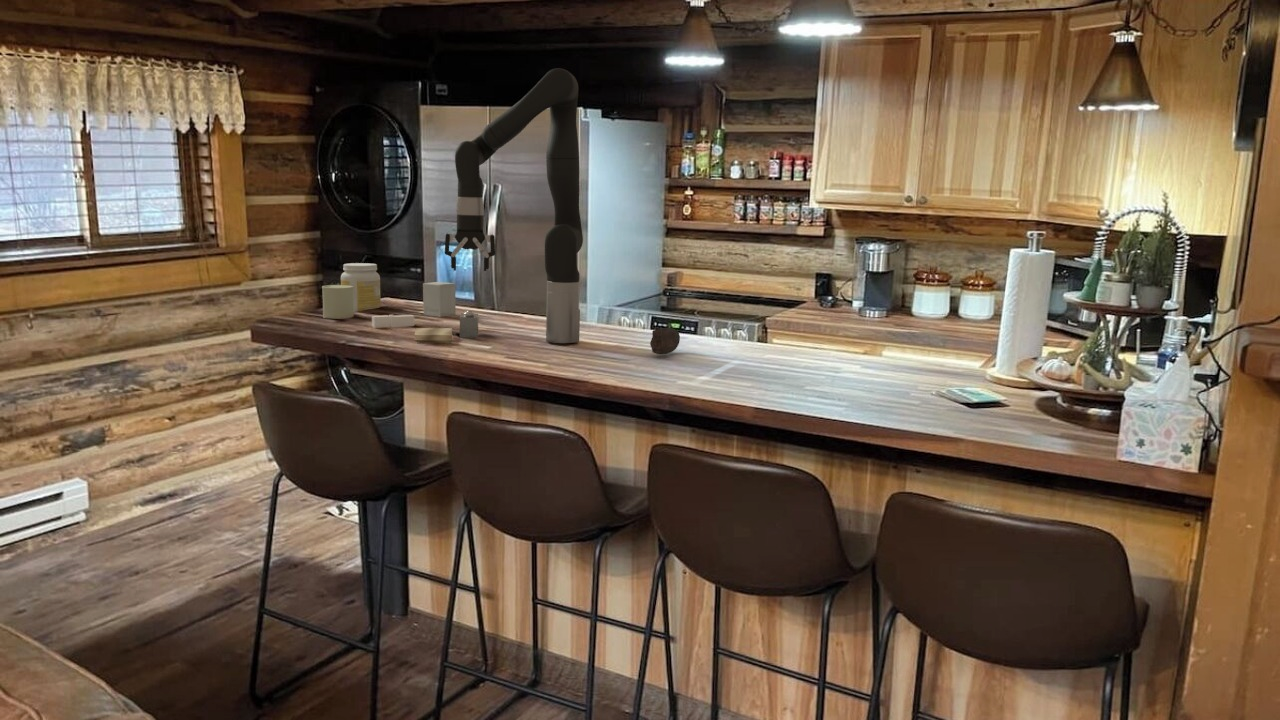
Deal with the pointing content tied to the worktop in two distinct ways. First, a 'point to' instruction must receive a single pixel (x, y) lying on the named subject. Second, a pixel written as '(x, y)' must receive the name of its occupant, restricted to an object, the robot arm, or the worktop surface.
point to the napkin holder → (392, 321)
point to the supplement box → (439, 299)
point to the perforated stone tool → (664, 340)
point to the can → (337, 301)
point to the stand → (434, 335)
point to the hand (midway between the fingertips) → (469, 270)
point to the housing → (468, 325)
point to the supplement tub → (363, 285)
